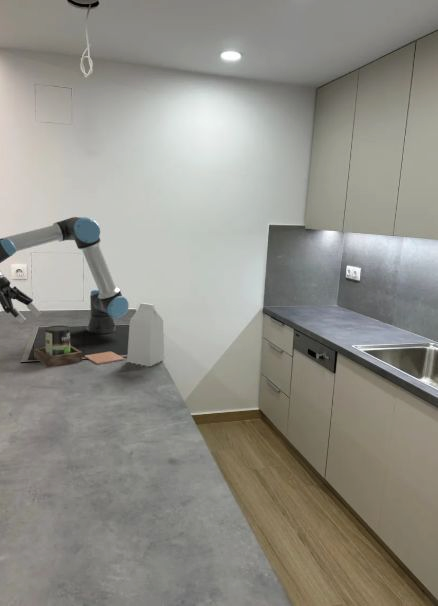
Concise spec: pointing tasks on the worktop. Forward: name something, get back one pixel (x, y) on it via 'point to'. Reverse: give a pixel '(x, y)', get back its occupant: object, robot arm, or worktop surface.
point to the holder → (57, 357)
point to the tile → (104, 357)
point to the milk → (146, 336)
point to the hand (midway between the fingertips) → (31, 318)
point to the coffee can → (57, 340)
